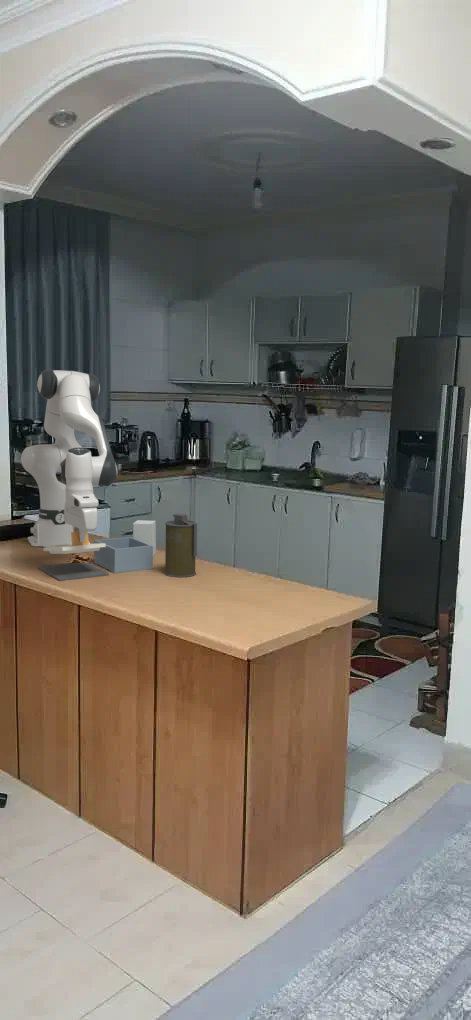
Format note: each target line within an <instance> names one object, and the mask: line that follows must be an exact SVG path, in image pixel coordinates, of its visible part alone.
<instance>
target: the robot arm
mask: <svg viewBox="0 0 471 1020" xmlns="http://www.w3.org/2000/svg"><path fill="white" fill-rule="evenodd" d="M36 384H37V390H38V394H39V395H40V396H41V398H44V399H47V402H46V407H45V413H44V414H45V415H44V423H43V428H44V430H45V432H46V433H47V434H48V435H49V436H51V437H52V438H54V439H55V441H54V443H50V444H35V445H30V446H27V447H25V448H24V449H23V451H22V453H21V455H20V456H21V457H20V459H21V460H20V463H21V466H22V467H23V469H24V470H25V471H26V472H27V473H29V474H30V475H31V476H32V477H33V479H34V480H35V481H36V484H37V486H38V491H39V502H40V503H39V504H40V508H39V511H38V519H37V520H36V522H35V523H34V524H33V527H30V530H29V531H30V533H31V534H33V535H31V536H28V537H27V541H28V542H29V544H30V546H32V547H49V546H51V545H62V544H72V539H71V532H80V536H79V541H80V542H85V536H86V534H87V531H88V532H94V531H96V530H97V527H98V507H99V500H98V498H97V497H96V495H95V494H94V486H99V487H110V486H111V485H112V484H113V483H114V482H116V480H117V478H118V465H117V463H116V460H115V458H114V455H113V452H112V448H111V445H110V441H109V438H108V434H107V430H106V426H105V424H104V420H103V418H102V417H101V416H100V415H98V414H97V413H96V412H95V411H94V409H93V407H92V403H94V402H95V401H97V399H98V397H99V395H100V391H101V387H100V386H101V385H100V380H99V378H98V377H97V376H96V374H95V375H94V374H93V373H92V374H91V373H85V372H81V371H75V370H62V369H61V370H60V369H59V370H57V369H56V370H55V369H52V368H51V369H45V370H43V371H41V372H40V374H39V376H38V379H37V383H36ZM75 431H77V432H81V433H84V434H87V435H88V436H90V437H92V438H93V439H94V441H95V444H96V447H97V451H98V456H92V452H91V450H90V449H88V448H85V447H83V446H82V445H81V444H79V442H78V441H77V439H76V436H75ZM57 473H61V474H60V480H61V481H62V482H61V481H59V480H58V478H57Z"/></svg>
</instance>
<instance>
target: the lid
mask: <svg viewBox="0 0 471 1020" xmlns="http://www.w3.org/2000/svg"><path fill="white" fill-rule="evenodd" d="M79 536H80V532H71V539H72V544H62V545H51V546H49V547H43V552H49V554H50V555H51V554H52V555H53V554H55V555H57V554H59V555H65V554H66V555H67V554H76V553H86V552H94V551H99V550H100V547H106V545H105V543H95V544H94V543H91V542H90V541H89V540H90V539H89V531H87V534H86V536H85V542H80V541H79Z"/></svg>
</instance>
